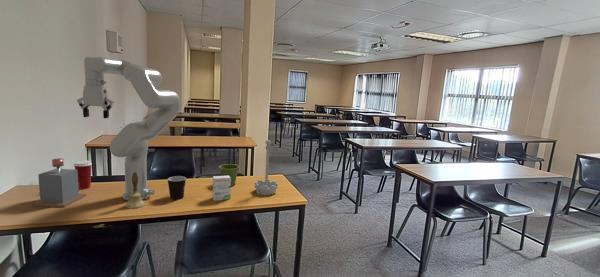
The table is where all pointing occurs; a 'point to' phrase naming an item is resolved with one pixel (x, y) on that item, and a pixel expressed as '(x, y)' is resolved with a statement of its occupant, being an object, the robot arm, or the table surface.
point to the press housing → (58, 188)
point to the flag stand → (266, 178)
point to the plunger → (57, 163)
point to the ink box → (221, 187)
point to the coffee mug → (176, 187)
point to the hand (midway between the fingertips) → (96, 117)
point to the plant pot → (229, 171)
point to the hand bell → (135, 195)
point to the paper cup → (83, 174)
